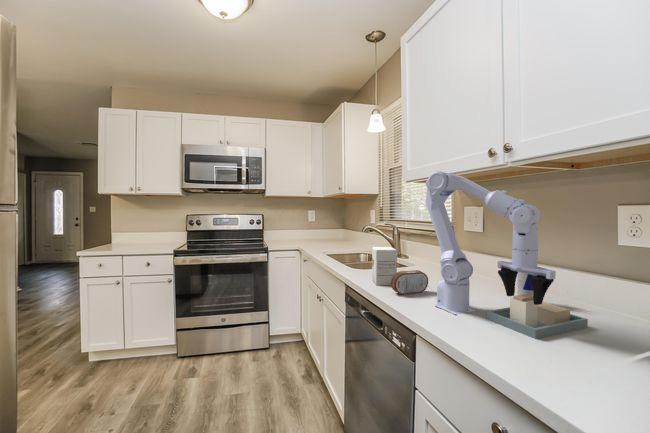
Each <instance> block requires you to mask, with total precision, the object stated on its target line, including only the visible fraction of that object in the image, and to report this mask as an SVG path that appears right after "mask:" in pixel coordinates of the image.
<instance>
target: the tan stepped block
mask: <svg viewBox="0 0 650 433" xmlns="http://www.w3.org/2000/svg"><path fill="white" fill-rule="evenodd" d="M570 314H571V309H569V308H567V307H563V306H558V305H557V304H556V305H555V304H552V303H548V302H545V301H543V302H542V304H539V305H538V308H537V321H539V322H542V323H544V324H547V325H553V324H557V323H562V322H567V321H570Z"/></svg>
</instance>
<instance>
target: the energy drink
mask: <svg viewBox="0 0 650 433" xmlns="http://www.w3.org/2000/svg"><path fill="white" fill-rule="evenodd" d="M528 272H529V271H528ZM531 277H537V276H536V275H531V274H526V273H521V272H518V274H517V285H516V286H517V287H516V288H517V289H516V290H517V291H516V293H517V294H516V296H518V295H529V296H533V286H532V282H531Z"/></svg>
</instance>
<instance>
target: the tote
mask: <svg viewBox="0 0 650 433" xmlns="http://www.w3.org/2000/svg"><path fill="white" fill-rule="evenodd" d="M485 320H487V321H490V322H492V323H495V324H497V325H500V326H503V327H505V328H507V329H509V330H512V331H514V332H517V333H520V334H522V335H524V336H527V337H529V338H532V339H534V340H537V339H541V338H546V337H550V336H551V337H552V336H555V335H559V334H560V335H561V334H564V333H569V332H574V331H578V330H582V329H586V328H588V326H589V325H588V324H589V321H588V320H589V319H588V318H585V317H583V316H579V315H577V314H572V313H570V321H567V322H562V323H557V324H553V325H547V324H544V323H542V322H539V321H537V327H535V328H533V327H530V326H527V325H525V324H522V323H519V322H517V321H514V320H511V319H510V306H509V307H503V308H496V309H491V310H485Z"/></svg>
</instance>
